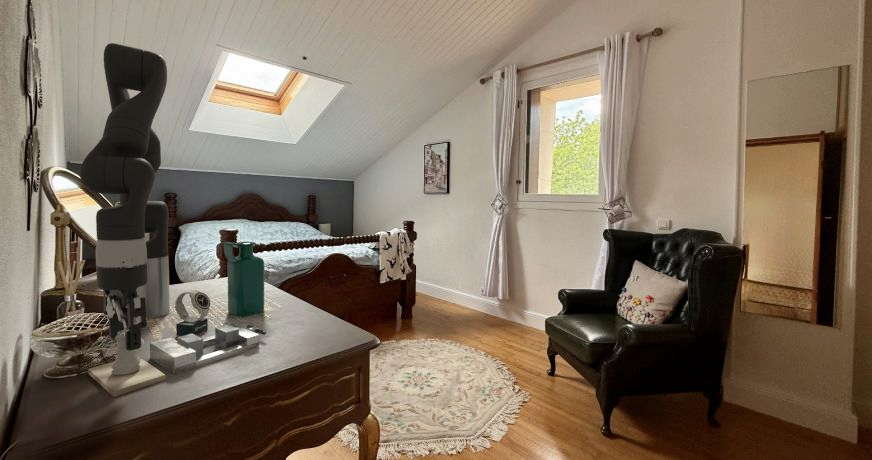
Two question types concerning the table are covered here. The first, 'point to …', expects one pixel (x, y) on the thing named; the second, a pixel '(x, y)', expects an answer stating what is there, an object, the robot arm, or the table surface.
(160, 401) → the table surface
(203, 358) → the vise
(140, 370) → the board
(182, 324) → the watch
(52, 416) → the table surface
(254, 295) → the pitcher
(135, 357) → the rook chess piece
